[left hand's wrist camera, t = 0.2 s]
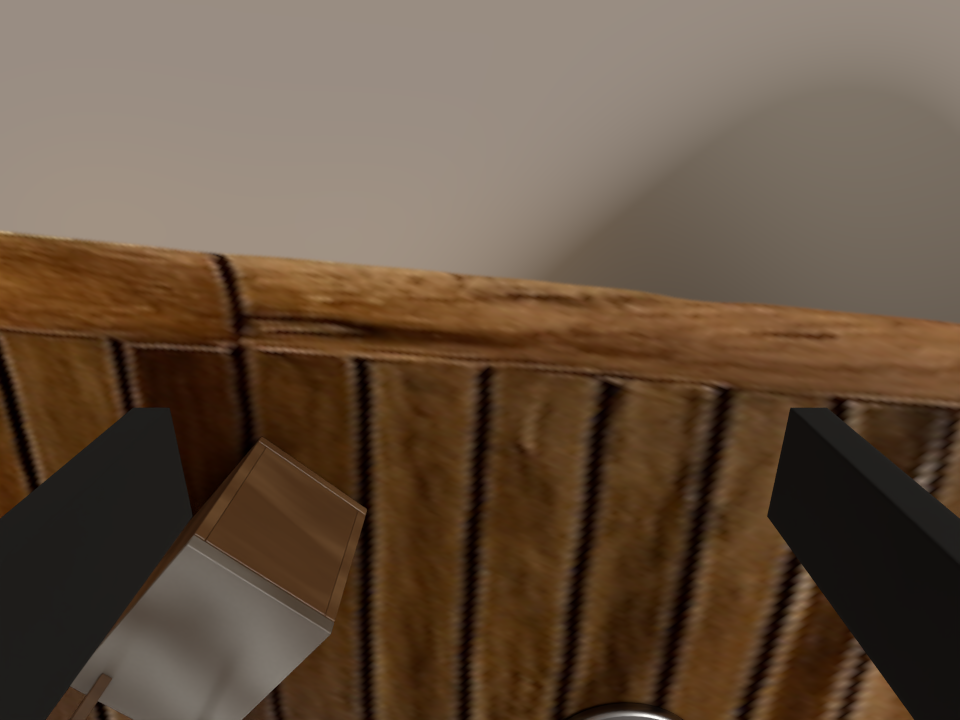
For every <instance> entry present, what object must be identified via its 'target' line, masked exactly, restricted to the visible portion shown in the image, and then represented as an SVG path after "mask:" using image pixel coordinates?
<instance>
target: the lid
mask: <svg viewBox="0 0 960 720" xmlns="http://www.w3.org/2000/svg"><path fill="white" fill-rule="evenodd" d="M333 625H334V622H332V621H331V620H329V619H328V618H326V617H324V616H323V615H321V614H320V613H318V612H316V611H315V610H313V609H312V608H310V607H308V606H307V605H305V604H304V603H302V602H300V601H299V600H297V599H296V598H294V597H292V596H291V595H289V594H288V593H286V592H284V591H283V590H281V589H280V588H278V587H276V586H275V585H273V584H272V583H270V582H268V581H267V580H265V579H264V578H262V577H260V576H259V575H257V574H256V573H254V572H252V571H251V570H249V569H248V568H246V567H244V566H243V565H241V564H240V563H238V562H236V561H235V560H233V559H232V558H230V557H228V556H227V555H225V554H224V553H222V552H220V551H219V550H217V549H216V548H214V547H212V546H211V545H209V544H208V543H206V542H204V541H203V540H201V539H200V538H198V537H196V536H195V535H194V536H192V537H191V538H190V539H189V541H188V542H187V543H186V544H185V545H184V546H183V548H182V549H181V550H180V551H179V552H178V553H177V555H176V556H175V557H174V558H173V559H172V560H171V562H170V563H169V564H168V565H167V566H166V567H165V569H164V570H163V571H162V572H161V573H160V574H159V576H158V577H157V578H156V579H155V580H154V581H153V583H152V584H151V585H150V586H149V587H148V588H147V590H146V591H145V592H144V593H143V594H142V595H141V597H140V598H139V599H138V600H137V601H136V602H135V604H134V605H133V606H132V607H131V608H130V609H129V611H128V612H127V613H126V614H125V615H124V616H123V618H122V619H121V620H120V621H119V622H118V623H117V625H116V626H115V627H114V628H113V629H112V631H111V632H110V633H109V634H108V635H107V636H106V638H105V639H104V640H103V641H102V642H101V644H100V645H99V647H98V648H97V649H96V651H95V652H94V653H93V655H92V656H91V658H90V659H89V660H88V662H87V663H86V665H85V666H84V667H83V669H82V670H81V671H80V673H79V674H78V676H77V677H76V678H75V680H74V681H73V683H72V684H71V685H70V687H72V688H74V689H76V690H78V691H80V692H82V693H84V694H86V696H85V697H84V699H83V700H82V702H81V703H80V705H79V706H78V708H77V709H76V710H75V712H74V713H73V715H72V716H71V718H70V719H69V720H86V718H87V717H88V715H89V714H90V712H91V711H92V709H93V708H94V706H95V705H96V703H97V702H98V701H99V702H101V703H103V704H105V705H107V706H108V707H110V708H112V709H114V710H116V711H118V712H120V713H122V714H124V715H126V716H128V717H129V718H131V719H133V720H242V719H243V718H244V717H245V716H246V715H247V714H248V713H249V712H250V711H251V710H252V709H253V708H254V707H255V706H256V705H257V704H258V703H259V702H260V701H262V700H263V699H264V698H265V697H266V696H267V695H268V694H269V693H270V692H271V691H272V690H273V689H274V688H275V687H276V686H277V685H278V684H279V683H280V682H281V681H282V680H283V679H284V678H285V677H286V676H287V675H289V674H290V673H291V672H292V671H293V670H294V669H295V668H296V667H297V666H298V665H299V664H300V663H301V662H302V661H303V660H304V659H305V658H306V657H307V656H308V655H309V654H310V653H311V652H312V651H313V650H314V649H316V648H317V647H318V646H319V645H320V644H321V643H322V642H323V641H324V640H325V639H326V638H327V637H328V636H329V635H330V634H331V632H332V628H333Z"/></svg>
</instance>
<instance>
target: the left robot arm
mask: <svg viewBox="0 0 960 720" xmlns="http://www.w3.org/2000/svg"><path fill="white" fill-rule="evenodd" d="M192 517H193V515H192V511H191V506H190V501H189V497H188V492H187V487H186V483H185V478H184V473H183V469H182V464H181V459H180V455H179V450H178V445H177V441H176V436H175V431H174V426H173V422H172V417H171V412H170V408H132V409H131V410H130V411H129V412H128V413H126V414H125V415H124V416H123V417H122V418H120V419H119V420H118V421H117V422H116V423H114V424H113V425H112V426H111V427H110V428H108V429H107V430H106V431H105V432H104V433H102V434H101V435H100V436H99V437H98V438H96V439H95V440H94V441H93V442H92V443H90V444H89V445H88V446H87V447H86V448H84V449H83V450H82V451H81V452H80V453H78V454H77V455H76V456H75V457H74V458H72V459H71V460H70V461H69V462H68V463H66V464H65V465H64V466H63V467H62V468H60V469H59V470H58V471H57V472H56V473H54V474H53V475H52V476H51V477H50V478H48V479H47V480H46V481H45V482H44V483H42V484H41V485H40V486H39V487H38V488H36V489H35V490H34V491H33V492H32V493H30V494H29V495H28V496H27V497H26V498H24V499H23V500H22V501H21V502H20V503H18V504H17V505H16V506H15V507H14V508H12V509H11V510H10V511H9V512H8V513H6V514H5V515H4V516H3V517H2V518H0V720H46V718H47V717H48V716H49V714H50V713H51V712H52V710H53V709H54V707H55V706H56V705H57V703H58V702H59V701H60V699H61V698H62V696H63V695H64V694H65V692H66V691H67V689H68V688H69V687H70V685H71V684H72V683H73V681H74V680H75V678H76V677H77V676H78V674H79V673H80V671H81V670H82V669H83V667H84V666H85V665H86V663H87V662H88V660H89V659H90V658H91V656H92V655H93V653H94V652H95V651H96V649H97V648H98V647H99V645H100V644H101V642H102V641H103V640H104V638H105V637H106V636H107V634H108V633H109V631H110V630H111V629H112V627H113V626H114V624H115V623H116V622H117V620H118V619H119V618H120V616H121V615H122V613H123V612H124V611H125V609H126V608H127V606H128V605H129V604H130V602H131V601H132V600H133V598H134V597H135V595H136V594H137V593H138V591H139V590H140V588H141V587H142V586H143V584H144V583H145V582H146V580H147V579H148V577H149V576H150V575H151V573H152V572H153V571H154V569H155V568H156V566H157V565H158V564H159V562H160V561H161V559H162V558H163V557H164V555H165V554H166V553H167V551H168V550H169V548H170V547H171V546H172V544H173V543H174V541H175V540H176V539H177V537H178V536H179V535H180V533H181V532H182V530H183V529H184V528H185V526H186V525H187V523H188V522H189V521H190V519H191V518H192ZM767 517H768V518H769V519H770V521H771V522H772V523H773V525H774V526H775V528H776V529H777V530H778V532H779V533H780V535H781V536H782V537H783V539H784V540H785V541H786V543H787V544H788V546H789V547H790V548H791V550H792V551H793V553H794V554H795V555H796V557H797V558H798V559H799V561H800V562H801V564H802V565H803V566H804V568H805V569H806V571H807V572H808V573H809V575H810V576H811V577H812V579H813V580H814V582H815V583H816V584H817V586H818V587H819V588H820V590H821V591H822V593H823V594H824V595H825V597H826V598H827V600H828V601H829V602H830V604H831V605H832V606H833V608H834V609H835V611H836V612H837V613H838V615H839V616H840V618H841V619H842V620H843V622H844V623H845V624H846V626H847V627H848V629H849V630H850V631H851V633H852V634H853V636H854V637H855V638H856V640H857V641H858V642H859V644H860V645H861V647H862V648H863V649H864V651H865V652H866V653H867V655H868V656H869V658H870V659H871V660H872V662H873V663H874V665H875V666H876V667H877V669H878V670H879V671H880V673H881V674H882V676H883V677H884V678H885V680H886V681H887V683H888V684H889V685H890V687H891V688H892V689H893V691H894V692H895V694H896V695H897V696H898V698H899V699H900V701H901V702H902V703H903V705H904V706H905V707H906V709H907V710H908V712H909V713H910V714H911V716H912V717H913V719H914V720H960V518H958V517H957V516H956V515H955V514H954V513H952V512H951V511H950V510H949V509H948V508H946V507H945V506H944V505H943V504H942V503H940V502H939V501H938V500H937V499H936V498H934V497H933V496H932V495H931V494H930V493H928V492H927V491H926V490H925V489H924V488H922V487H921V486H920V485H919V484H918V483H916V482H915V481H914V480H913V479H912V478H910V477H909V476H908V475H907V474H906V473H904V472H903V471H902V470H901V469H900V468H898V467H897V466H896V465H895V464H894V463H892V462H891V461H890V460H889V459H888V458H886V457H885V456H884V455H883V454H882V453H880V452H879V451H878V450H877V449H876V448H874V447H873V446H872V445H871V444H870V443H868V442H867V441H866V440H865V439H864V438H862V437H861V436H860V435H859V434H858V433H856V432H855V431H854V430H853V429H852V428H850V427H849V426H848V425H847V424H846V423H844V422H843V421H842V420H841V419H840V418H838V417H837V416H836V415H835V414H834V413H832V412H831V411H830V410H829V409H828V408H790V412H789V417H788V422H787V426H786V431H785V436H784V440H783V445H782V450H781V455H780V459H779V464H778V469H777V473H776V478H775V483H774V487H773V492H772V497H771V501H770V506H769V511H768V515H767ZM568 720H683V719H682V718H680V717H679V716H677V715H675V714H674V713H671V712H669V711H667V710H665V709H662V708H659V707H655V706H651V705H646V704H638V703H617V704H609V705H603V706H599V707H595V708H592V709H589V710H586V711H583V712H581V713H579V714H577V715H575V716H573V717H571V718H569V719H568Z"/></svg>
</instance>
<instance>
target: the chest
mask: <svg viewBox="0 0 960 720" xmlns="http://www.w3.org/2000/svg"><path fill="white" fill-rule="evenodd" d="M366 512H367V509H366V508H364V507H363V506H362V505H360V504H359V503H357V502H356V501H354V500H353V499H351V498H350V497H349V496H347V495H346V494H344V493H343V492H341V491H340V490H339V489H337V488H336V487H334V486H333V485H331V484H330V483H328V482H327V481H326V480H324V479H323V478H321V477H320V476H318V475H317V474H315V473H314V472H313V471H311V470H310V469H308V468H307V467H305V466H304V465H303V464H301V463H300V462H298V461H297V460H295V459H294V458H292V457H291V456H290V455H288V454H287V453H285V452H284V451H282V450H281V449H279V448H278V447H277V446H275V445H274V444H272V443H271V442H269V441H268V440H266V439H265V438H264V437H261V438H260V439H259V440H258V441H257V442H256V444H255V445H254V446H253V447H252V448H251V449H250V451H249V452H248V453H247V454H246V455H245V457H244V458H243V459H242V460H241V461H240V462H239V464H238V465H237V466H236V467H235V468H234V470H233V471H232V472H231V473H230V474H229V475H228V477H227V478H226V479H225V480H224V481H223V483H222V484H221V485H220V486H219V487H218V488H217V490H216V491H215V492H214V493H213V494H212V496H211V497H210V498H209V499H208V500H207V502H206V503H205V504H204V505H203V506H202V507H201V509H200V510H199V511H198V512H197V513H196V515H195V516H194V517H193V518H192V519H191V520H190V522H189V523H188V524H187V525H186V526H185V528H184V529H183V530H182V532H181V533H180V535H179V536H178V537H177V539H176V540H175V541H174V543H173V544H172V546H171V547H170V548H169V550H168V551H167V553H166V554H165V555H164V557H163V558H162V559H161V561H160V562H159V564H158V565H157V566H156V568H155V569H154V571H153V572H152V573H151V575H150V576H149V577H148V579H147V580H146V582H145V583H144V584H143V586H142V587H141V588H140V590H139V591H138V593H137V594H136V595H135V597H134V598H133V600H132V601H131V602H130V604H129V605H128V606H127V608H126V609H125V611H124V612H123V613H122V615H121V616H120V618H119V619H118V620H117V622H116V623H115V624H114V626H113V627H112V629H113V628H114V627H115V626H116V625H117V623H118V622H119V621H120V620H121V619H122V618H123V616H124V615H125V614H126V613H127V612H128V611H129V609H130V608H131V607H132V606H133V605H134V604H135V602H136V601H137V600H138V599H139V598H140V597H141V595H142V594H143V593H144V592H145V591H146V590H147V588H148V587H149V586H150V585H151V584H152V583H153V581H154V580H155V579H156V578H157V577H158V576H159V574H160V573H161V572H162V571H163V570H164V569H165V567H166V566H167V565H168V564H169V563H170V562H171V560H172V559H173V558H174V557H175V556H176V555H177V553H178V552H179V551H180V550H181V549H182V548H183V546H184V545H185V544H186V543H187V542H188V541H189V539H190V538H191V537H192V536H194V535H195V536H196V537H198V538H200V539H201V540H203V541H204V542H206V543H208V544H209V545H211V546H212V547H214V548H216V549H217V550H219V551H220V552H222V553H224V554H225V555H227V556H228V557H230V558H232V559H233V560H235V561H236V562H238V563H240V564H241V565H243V566H244V567H246V568H248V569H249V570H251V571H252V572H254V573H256V574H257V575H259V576H260V577H262V578H264V579H265V580H267V581H268V582H270V583H272V584H273V585H275V586H276V587H278V588H280V589H281V590H283V591H284V592H286V593H288V594H289V595H291V596H292V597H294V598H296V599H297V600H299V601H300V602H302V603H304V604H305V605H307V606H308V607H310V608H312V609H313V610H315V611H316V612H318V613H320V614H321V615H323V616H324V617H326V618H328V619H329V620H331V621H332V622H334V621H335V618H336V615H337V611H338V608H339V605H340V601H341V598H342V594H343V591H344V587H345V584H346V581H347V577H348V574H349V570H350V567H351V563H352V560H353V556H354V553H355V550H356V546H357V543H358V539H359V536H360V532H361V529H362V526H363V522H364V519H365V515H366ZM112 629H111V630H110V631H109V633H110V632H111V631H112ZM109 633H108V634H109ZM108 634H107V635H108ZM105 638H106V637H105ZM105 638H104V639H105Z"/></svg>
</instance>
